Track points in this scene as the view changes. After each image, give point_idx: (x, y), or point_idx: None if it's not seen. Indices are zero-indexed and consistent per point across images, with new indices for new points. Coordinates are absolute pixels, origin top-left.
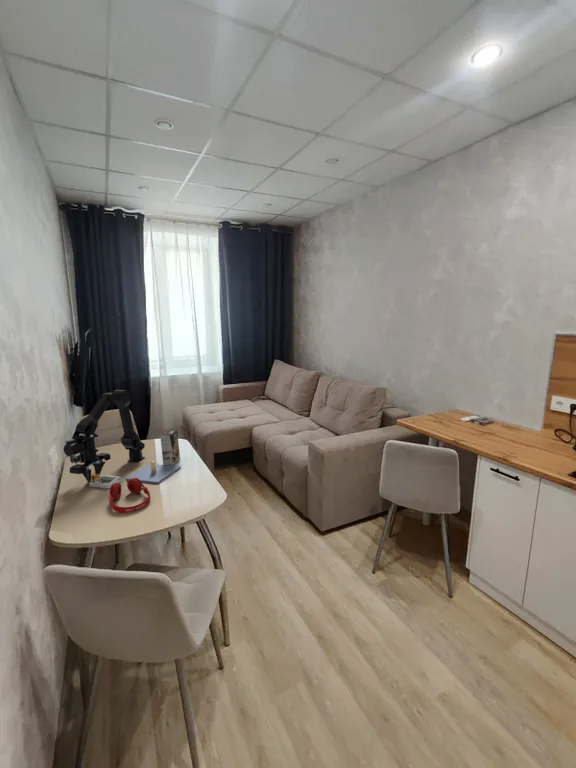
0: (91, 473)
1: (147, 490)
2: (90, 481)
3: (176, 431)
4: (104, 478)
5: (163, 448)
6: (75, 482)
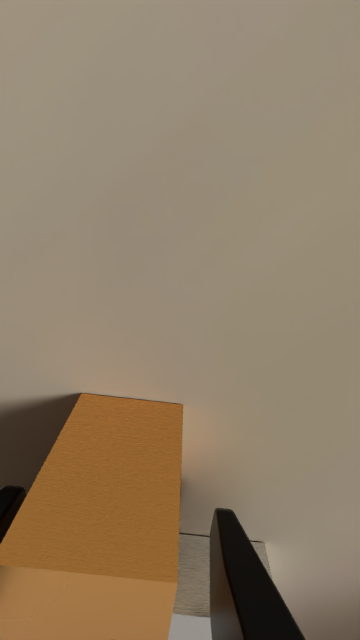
0: (118, 635)
1: None
2: None
3: None
4: None
5: None
6: (31, 93)
